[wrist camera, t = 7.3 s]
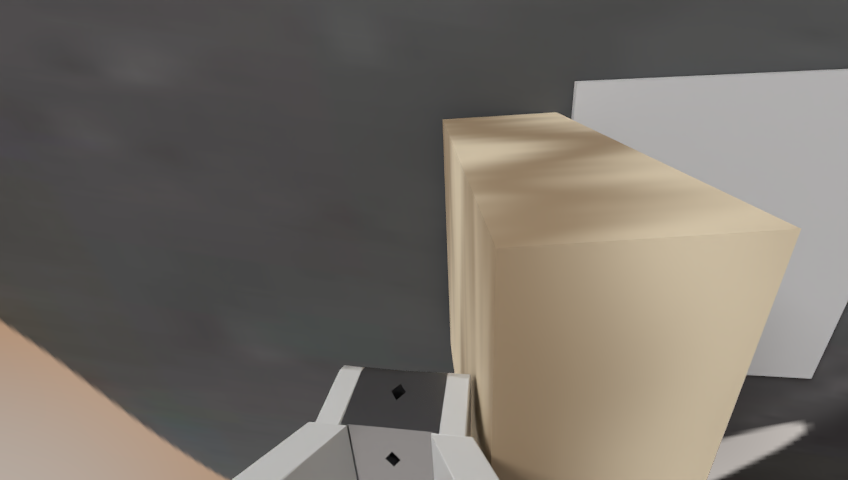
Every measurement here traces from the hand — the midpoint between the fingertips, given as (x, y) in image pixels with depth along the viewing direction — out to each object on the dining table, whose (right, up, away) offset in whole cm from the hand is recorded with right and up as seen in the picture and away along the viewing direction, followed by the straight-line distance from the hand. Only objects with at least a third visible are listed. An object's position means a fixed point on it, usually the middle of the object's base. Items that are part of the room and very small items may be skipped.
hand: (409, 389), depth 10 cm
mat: (+11, +3, +6) cm, 13 cm away
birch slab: (+3, +3, +7) cm, 8 cm away
